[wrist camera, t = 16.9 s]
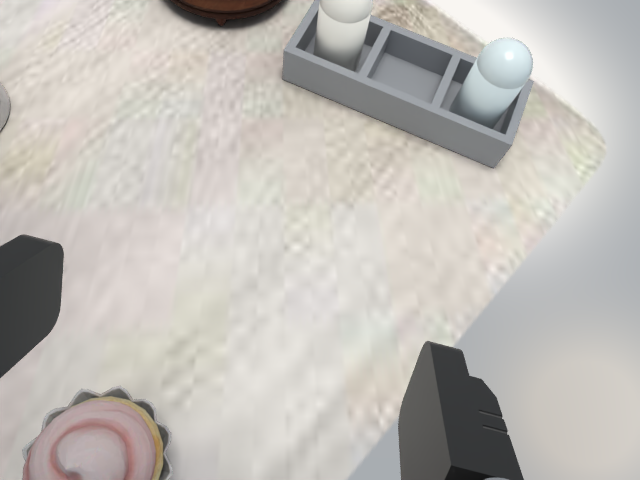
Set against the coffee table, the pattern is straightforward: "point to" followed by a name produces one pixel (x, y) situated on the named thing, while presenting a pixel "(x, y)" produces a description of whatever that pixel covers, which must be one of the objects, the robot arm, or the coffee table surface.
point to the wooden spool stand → (226, 8)
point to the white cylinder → (342, 31)
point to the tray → (403, 86)
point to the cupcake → (100, 440)
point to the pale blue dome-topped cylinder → (493, 81)
